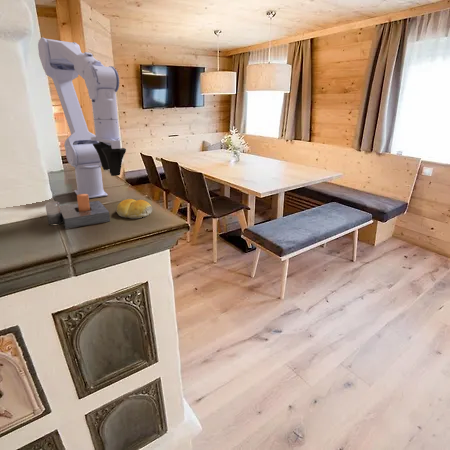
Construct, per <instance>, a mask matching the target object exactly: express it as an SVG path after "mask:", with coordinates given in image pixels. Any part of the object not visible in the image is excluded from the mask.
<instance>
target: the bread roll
mask: <svg viewBox="0 0 450 450" xmlns="http://www.w3.org/2000/svg"><path fill="white" fill-rule="evenodd" d="M152 212H153V207H152V205H151V204H150V203H149V202H148V201H146V200H144V199H137V200H136V199H133V198H126V199H124V200H122V201H120V202H119V203H118V204H117V206H116V213H117V215H118V216H119V217H121V218H129V219H134V220H135V219H142V217H143V218H145V217H148V216H149V214H150V215H151V214H152Z"/></svg>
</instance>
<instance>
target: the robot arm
mask: <svg viewBox="0 0 450 450" xmlns="http://www.w3.org/2000/svg"><path fill="white" fill-rule="evenodd" d="M37 49H38V50H37V51H38V56H39V59H40V63H41V66H42V68H43V70H44V72H45V73H44V74H45V75H46V76H48V77H50V78H51V79H52V82H53V84H54V88H55V90H56V93H57V95H58V100H59V102H60V105H61V107H62V111H63V114H64V118H65V120H66V123H67V126H68V129H69V132H70V135H69V136H68V137H67V138H66V139H65V140H64V145H63V146H64V149H65V156H66V157H65V158H66V160H67V162H68V164H69V165H70V166H71V167H73V168H74V171H75V180H76V186H77V187H76V188H77V189H74V193H75V194H76V196H77V195H79V194H88V196H89V199H93V198H99V197H108V193H107V192H106V191H105V190H104V184H103V175H102V170H103V171H107V170H108V171H109V174H110V176H111V177H115V176H116V177H117V176H120V175H121V171H122V170H121V169H122V162H123V159H124V156H125V154H126V152H127V149H126V148H124V147H121V136H120V128H119V126H120V125H119V117H118V115H119V114H118V105H117V95H116V93H117V92H118V90H119V88H120V77H119V73H118V70H117V69H116V68H115V67H114V66H111V65H109V66H105V65H104V64H103V63H102V61H100V60H98V59H96V58H95V57H94V56H93V53H92V52H89V51H88V52H87V51H85V52H82V51H81V46H80V44H78V43H77V42H75V41H73V42H71V41H64V40H57V39H51V38H45V37H40V38H39V40H38V43H37ZM79 76H80V77H81V78H82V80H84V83H85V86H86V88H87V89H86V90H87V93H88V98H89V99H90V100H91V104H92V105H91V106H92V113H93V123H94V133H95V134H94V133H92V132H90V131H89V128H88V125H87V122H86V120H85V116H84V113H83V109H82V106H81V104H80V101H79V99H78V95H77V92H76V89H75V85H74V83H73V80H75V79H77V78H78V77H79Z"/></svg>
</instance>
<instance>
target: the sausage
mask: <svg viewBox="0 0 450 450" xmlns="http://www.w3.org/2000/svg"><path fill="white" fill-rule="evenodd" d="M76 200H77V204H78V208H79V212H82V211H89V210H90V204H89V202H90V198H89V196H88V194H79V195H77V194H76Z"/></svg>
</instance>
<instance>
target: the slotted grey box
mask: <svg viewBox="0 0 450 450" xmlns="http://www.w3.org/2000/svg"><path fill="white" fill-rule="evenodd" d="M89 204H90V210H89V211H82V212H79V208H78V203H72V204H66V205H65V204H64V205H61V204H60V202H59V201H57V200H55V201H53V200H52V201H51V200H50V201H47V202H45V203H44V207H45V212H46V216H47V223H48V225H49V224H59V225H61V224H63V226H64V228H65V229H66V230H67V229H74V228H78V227H83V226H84V227H85V226H90V225H96V224H102V223H108V222H111V219H110V211H109V210H108V209H107V208H106V207H105V205H104V204H103V203H102V202H101V200H96V201H89Z"/></svg>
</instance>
